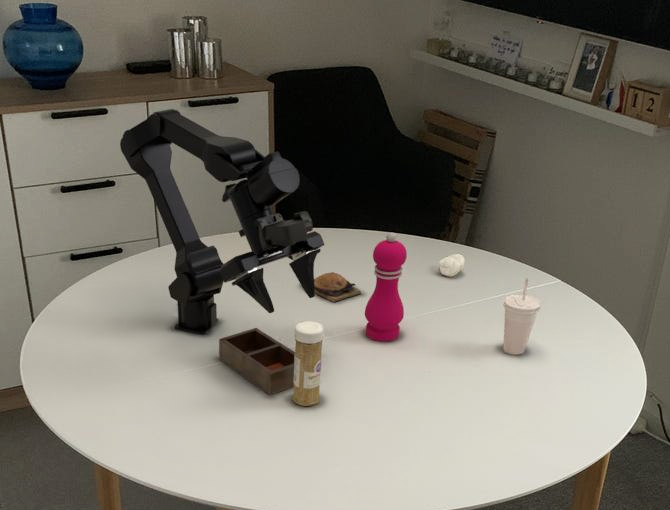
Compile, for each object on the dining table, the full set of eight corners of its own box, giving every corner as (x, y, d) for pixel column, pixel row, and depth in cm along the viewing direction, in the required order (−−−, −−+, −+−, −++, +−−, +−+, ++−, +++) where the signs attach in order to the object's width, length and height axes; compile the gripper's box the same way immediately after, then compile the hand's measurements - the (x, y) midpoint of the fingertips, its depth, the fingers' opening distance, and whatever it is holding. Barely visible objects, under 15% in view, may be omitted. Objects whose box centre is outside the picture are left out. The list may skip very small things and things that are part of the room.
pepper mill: (400, 344, 163) (411, 241, 153) (361, 340, 165) (369, 238, 154) (402, 327, 169) (413, 227, 159) (364, 324, 171) (373, 224, 160)
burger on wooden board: (363, 294, 183) (365, 278, 181) (331, 303, 179) (333, 287, 177) (331, 277, 190) (332, 261, 188) (299, 285, 186) (300, 269, 184)
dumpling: (468, 278, 191) (468, 263, 188) (445, 284, 191) (445, 268, 188) (456, 261, 196) (457, 245, 193) (434, 266, 196) (434, 251, 193)
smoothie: (534, 346, 163) (548, 275, 156) (528, 361, 158) (542, 288, 151) (499, 339, 166) (511, 269, 158) (492, 353, 161) (504, 282, 153)
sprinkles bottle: (315, 409, 144) (320, 334, 137) (288, 404, 145) (291, 330, 138) (322, 395, 148) (326, 322, 140) (296, 391, 149) (299, 318, 142)
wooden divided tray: (219, 359, 158) (218, 339, 156) (256, 347, 162) (256, 327, 160) (270, 395, 147) (270, 374, 145) (308, 381, 151) (309, 360, 149)
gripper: (239, 210, 133) (278, 306, 134) (326, 185, 144) (362, 275, 145) (202, 236, 142) (240, 325, 143) (286, 211, 153) (321, 295, 154)
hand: (292, 304), depth 146 cm, fingers open, 9 cm apart
